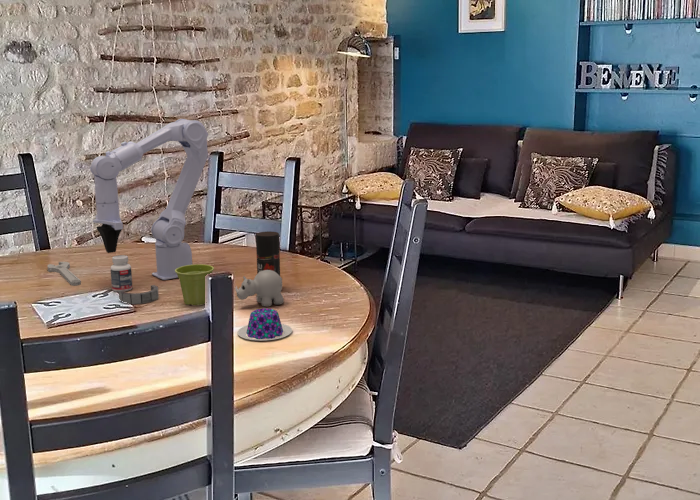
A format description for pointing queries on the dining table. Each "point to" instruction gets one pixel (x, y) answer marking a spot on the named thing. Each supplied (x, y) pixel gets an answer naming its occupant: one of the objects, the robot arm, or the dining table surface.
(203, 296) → the plant pot
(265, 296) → the toy rhinoceros
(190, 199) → the robot arm
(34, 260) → the dining table surface
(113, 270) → the pill bottle
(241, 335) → the pudding
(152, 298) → the collar
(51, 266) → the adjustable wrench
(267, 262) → the deodorant
